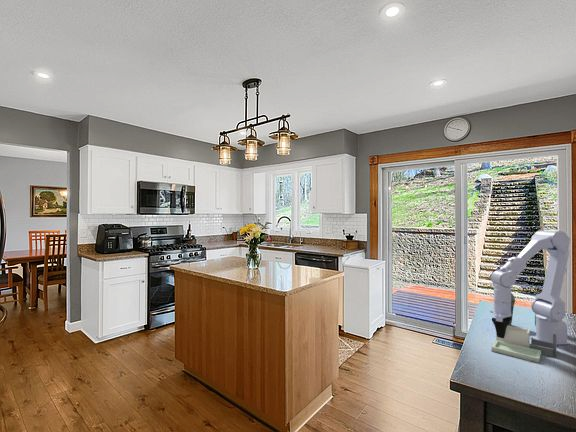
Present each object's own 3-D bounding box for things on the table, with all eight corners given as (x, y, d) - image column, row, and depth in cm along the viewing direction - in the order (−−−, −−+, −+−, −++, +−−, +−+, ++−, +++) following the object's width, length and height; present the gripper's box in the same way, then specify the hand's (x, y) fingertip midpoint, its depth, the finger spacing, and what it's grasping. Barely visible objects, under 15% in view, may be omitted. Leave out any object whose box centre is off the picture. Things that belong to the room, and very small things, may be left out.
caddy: (529, 345, 119) (529, 329, 119) (528, 349, 115) (528, 333, 115) (498, 338, 126) (498, 323, 126) (496, 341, 122) (496, 326, 122)
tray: (540, 354, 111) (541, 350, 111) (539, 363, 104) (539, 358, 104) (495, 343, 120) (495, 340, 120) (491, 350, 114) (491, 346, 114)
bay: (556, 350, 115) (556, 328, 115) (555, 357, 109) (556, 334, 109) (531, 344, 120) (531, 323, 120) (529, 350, 114) (529, 329, 114)
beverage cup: (514, 323, 143) (514, 280, 143) (515, 328, 137) (516, 283, 137) (495, 320, 147) (496, 278, 147) (495, 325, 141) (496, 281, 141)
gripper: (493, 296, 131) (493, 328, 131) (486, 302, 120) (486, 337, 120) (514, 299, 126) (513, 332, 126) (509, 306, 116) (508, 342, 116)
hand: (501, 335), depth 123 cm, fingers closed on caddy, 5 cm apart
